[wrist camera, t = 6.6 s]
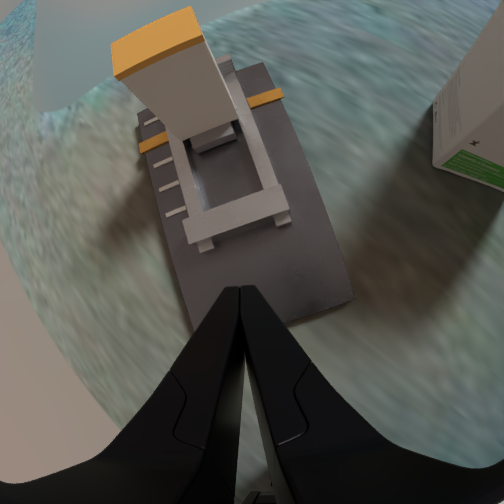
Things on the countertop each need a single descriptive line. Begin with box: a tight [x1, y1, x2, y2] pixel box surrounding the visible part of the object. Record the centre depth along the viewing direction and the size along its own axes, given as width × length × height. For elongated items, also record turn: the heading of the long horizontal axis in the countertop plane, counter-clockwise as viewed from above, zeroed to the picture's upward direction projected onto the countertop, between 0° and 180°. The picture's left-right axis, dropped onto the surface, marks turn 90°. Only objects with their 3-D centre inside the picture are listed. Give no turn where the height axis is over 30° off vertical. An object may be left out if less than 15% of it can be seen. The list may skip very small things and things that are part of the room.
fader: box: [111, 6, 239, 154], centre depth 17 cm, size 4×4×10 cm
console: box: [137, 54, 356, 332], centre depth 21 cm, size 19×12×4 cm, turn 18°
